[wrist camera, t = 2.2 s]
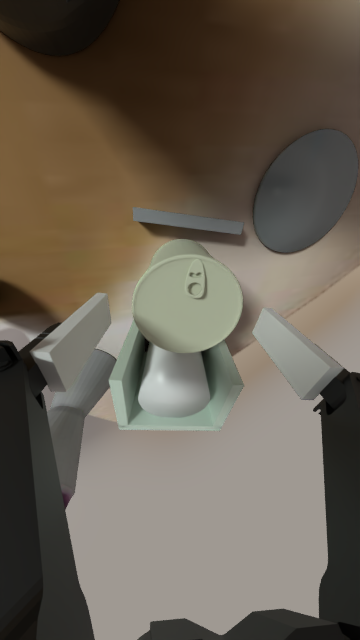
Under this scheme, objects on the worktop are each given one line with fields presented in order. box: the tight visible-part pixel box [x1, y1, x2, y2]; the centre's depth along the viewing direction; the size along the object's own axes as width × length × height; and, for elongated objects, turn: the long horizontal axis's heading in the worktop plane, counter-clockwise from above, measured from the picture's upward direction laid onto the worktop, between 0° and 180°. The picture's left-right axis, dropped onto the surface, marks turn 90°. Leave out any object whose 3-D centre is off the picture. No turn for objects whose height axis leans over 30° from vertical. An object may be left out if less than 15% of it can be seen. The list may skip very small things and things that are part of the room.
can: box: [132, 239, 243, 353], centre depth 17 cm, size 9×9×12 cm
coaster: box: [253, 129, 358, 252], centre depth 18 cm, size 11×11×1 cm
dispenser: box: [109, 207, 244, 431], centre depth 19 cm, size 24×13×13 cm, turn 174°
